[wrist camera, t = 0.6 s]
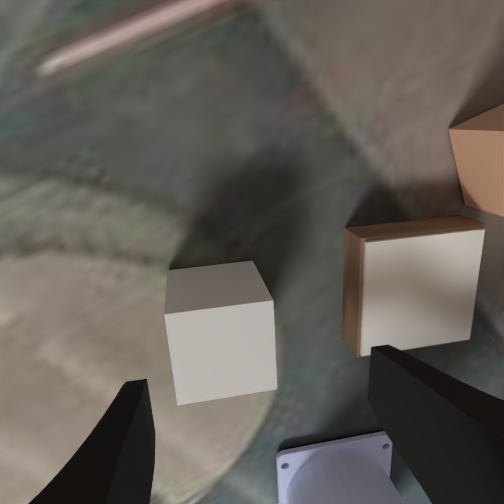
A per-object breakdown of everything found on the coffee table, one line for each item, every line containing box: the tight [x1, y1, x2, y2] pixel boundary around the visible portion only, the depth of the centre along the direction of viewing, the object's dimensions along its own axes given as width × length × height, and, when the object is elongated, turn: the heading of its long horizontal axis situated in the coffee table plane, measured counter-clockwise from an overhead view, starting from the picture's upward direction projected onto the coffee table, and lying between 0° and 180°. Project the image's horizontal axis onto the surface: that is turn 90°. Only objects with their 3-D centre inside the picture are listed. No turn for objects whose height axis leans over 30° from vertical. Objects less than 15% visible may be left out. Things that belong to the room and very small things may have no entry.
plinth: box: [342, 215, 486, 358], centre depth 22 cm, size 7×7×2 cm
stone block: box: [164, 261, 277, 405], centre depth 19 cm, size 4×4×5 cm
